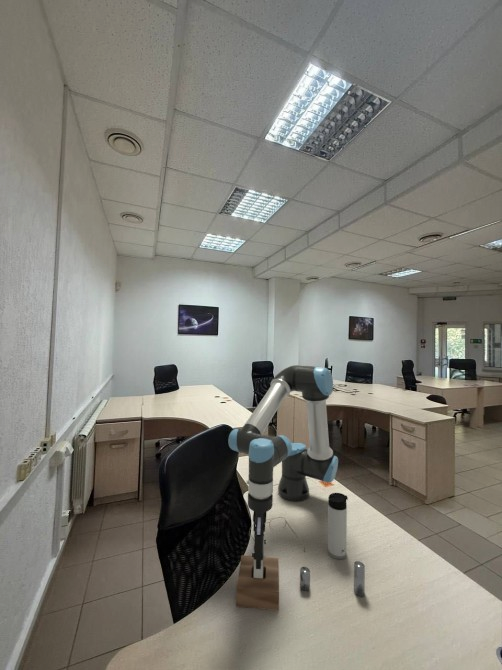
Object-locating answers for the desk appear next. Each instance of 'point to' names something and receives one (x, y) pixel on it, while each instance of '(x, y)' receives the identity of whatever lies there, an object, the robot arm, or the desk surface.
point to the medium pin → (359, 578)
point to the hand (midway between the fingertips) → (258, 571)
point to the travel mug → (337, 525)
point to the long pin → (263, 556)
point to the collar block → (258, 584)
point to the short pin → (305, 579)
